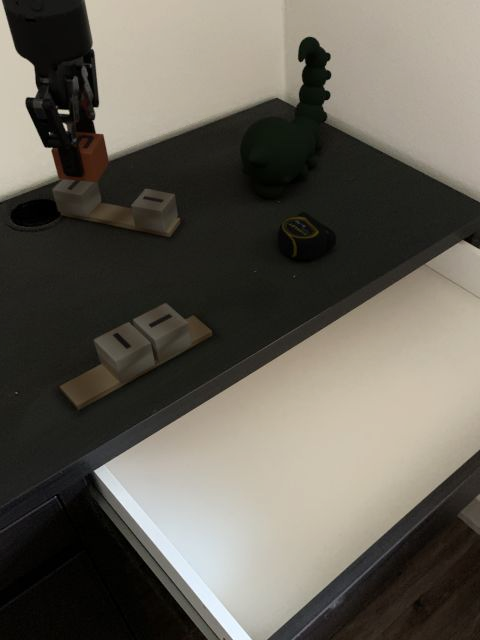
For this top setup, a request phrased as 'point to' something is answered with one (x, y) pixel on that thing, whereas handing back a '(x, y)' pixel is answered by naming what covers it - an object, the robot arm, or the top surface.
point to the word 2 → (135, 352)
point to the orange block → (87, 157)
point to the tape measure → (305, 237)
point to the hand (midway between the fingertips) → (82, 163)
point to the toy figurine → (289, 130)
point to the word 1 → (118, 208)
